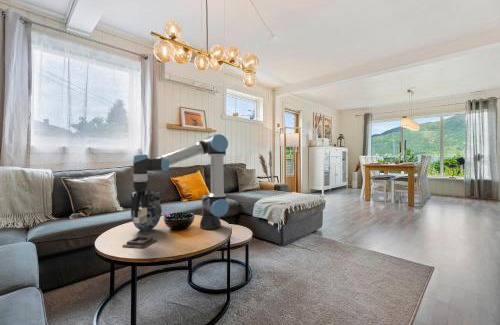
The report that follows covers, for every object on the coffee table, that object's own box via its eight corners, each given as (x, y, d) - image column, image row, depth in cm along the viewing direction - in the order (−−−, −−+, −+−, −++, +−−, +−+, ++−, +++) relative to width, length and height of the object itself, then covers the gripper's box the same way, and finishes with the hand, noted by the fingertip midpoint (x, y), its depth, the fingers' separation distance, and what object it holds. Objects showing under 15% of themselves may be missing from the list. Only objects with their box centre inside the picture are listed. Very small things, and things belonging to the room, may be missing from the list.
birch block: (146, 221, 140) (146, 207, 140) (141, 223, 135) (141, 209, 135) (139, 221, 141) (139, 207, 141) (133, 223, 136) (133, 208, 136)
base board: (157, 240, 143) (157, 236, 143) (143, 248, 130) (143, 243, 130) (137, 239, 145) (137, 235, 145) (122, 247, 132) (122, 242, 132)
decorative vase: (167, 229, 168) (167, 189, 168) (154, 237, 150) (154, 192, 150) (138, 228, 170) (138, 189, 170) (122, 236, 152) (122, 192, 152)
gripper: (144, 180, 147) (143, 218, 147) (123, 182, 130) (123, 225, 129) (155, 180, 146) (155, 218, 146) (136, 182, 128) (136, 225, 128)
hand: (140, 221), depth 138 cm, fingers closed on birch block, 5 cm apart
